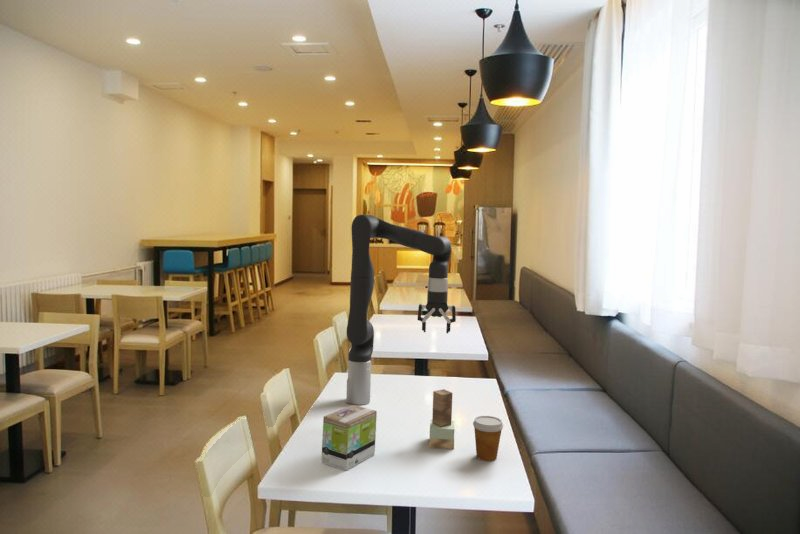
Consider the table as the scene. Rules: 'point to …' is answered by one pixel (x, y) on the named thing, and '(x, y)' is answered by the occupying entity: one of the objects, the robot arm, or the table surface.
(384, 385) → the table surface
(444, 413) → the walnut pillar
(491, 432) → the disposable coffee cup
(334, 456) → the tea box
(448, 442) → the oak slab
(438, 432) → the sage slab
